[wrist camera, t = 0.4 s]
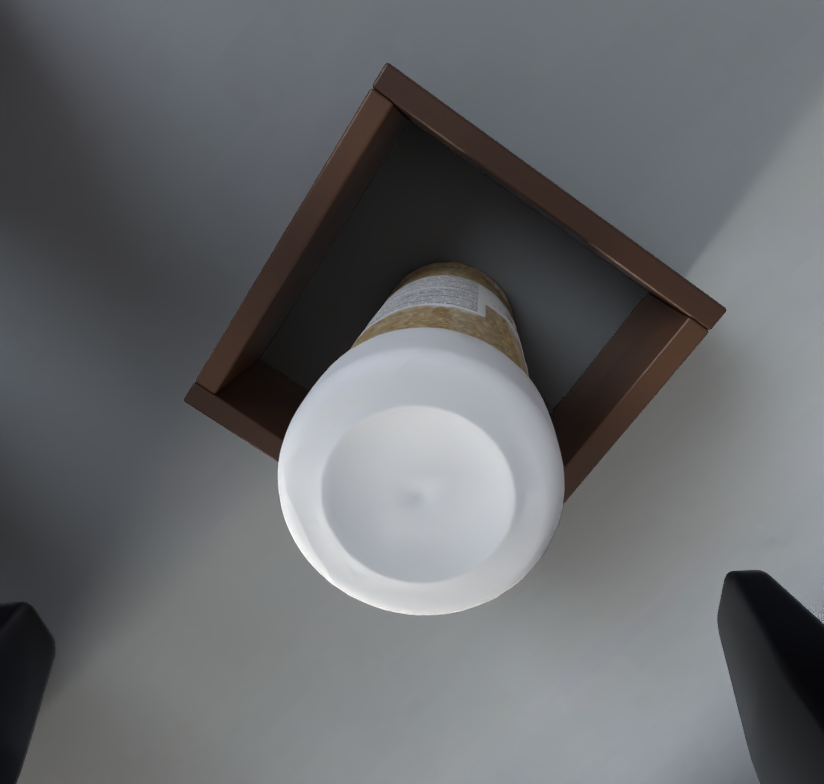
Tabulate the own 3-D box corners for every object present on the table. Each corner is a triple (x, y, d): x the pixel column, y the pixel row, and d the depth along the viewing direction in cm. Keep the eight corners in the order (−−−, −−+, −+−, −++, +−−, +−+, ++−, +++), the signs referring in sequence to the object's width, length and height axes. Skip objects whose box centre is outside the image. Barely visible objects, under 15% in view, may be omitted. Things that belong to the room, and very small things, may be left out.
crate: (482, 527, 25) (485, 597, 21) (233, 363, 24) (182, 401, 20) (679, 286, 22) (728, 310, 18) (403, 86, 21) (386, 60, 17)
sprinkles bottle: (513, 390, 24) (564, 631, 11) (382, 391, 24) (282, 625, 11) (515, 256, 22) (575, 349, 10) (376, 258, 23) (255, 353, 10)
